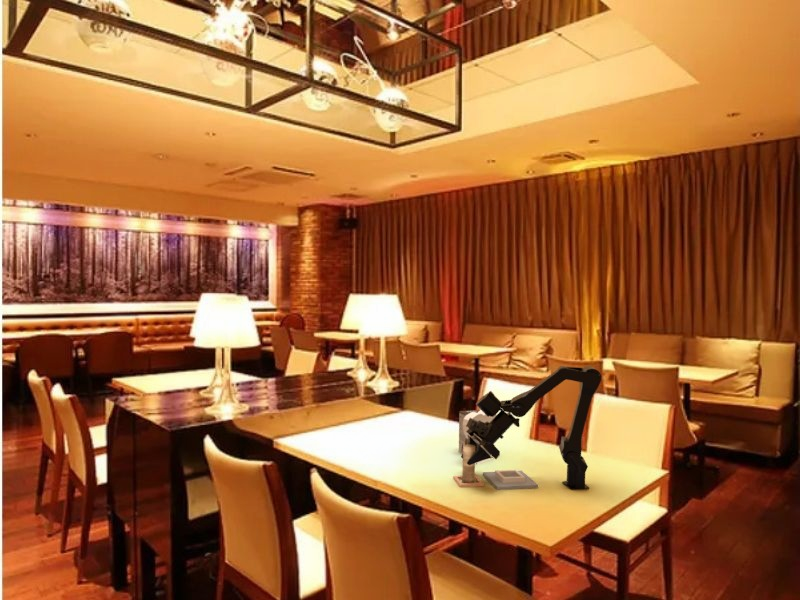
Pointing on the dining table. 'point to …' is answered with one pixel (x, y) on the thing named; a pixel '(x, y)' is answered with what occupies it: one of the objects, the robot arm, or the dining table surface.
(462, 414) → the coffee box
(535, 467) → the dining table surface
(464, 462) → the birch pin
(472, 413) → the heart sculpture
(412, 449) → the dining table surface
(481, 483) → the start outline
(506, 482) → the board
